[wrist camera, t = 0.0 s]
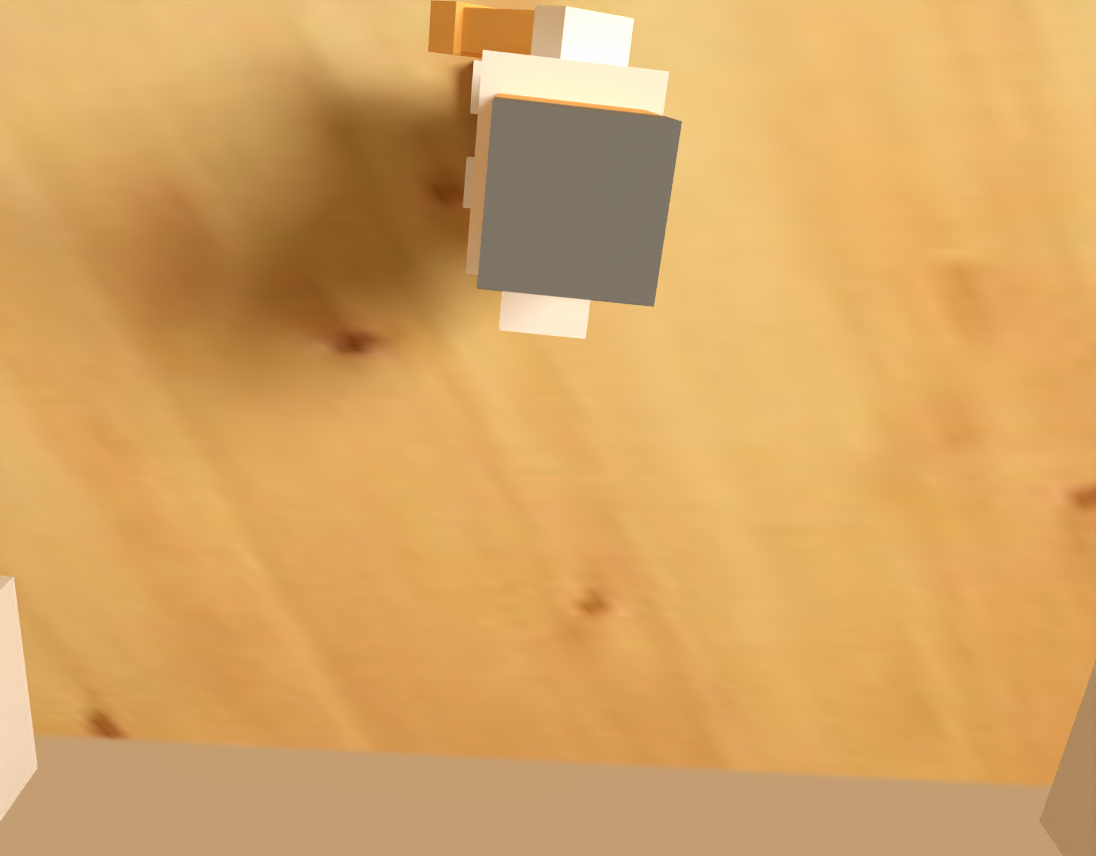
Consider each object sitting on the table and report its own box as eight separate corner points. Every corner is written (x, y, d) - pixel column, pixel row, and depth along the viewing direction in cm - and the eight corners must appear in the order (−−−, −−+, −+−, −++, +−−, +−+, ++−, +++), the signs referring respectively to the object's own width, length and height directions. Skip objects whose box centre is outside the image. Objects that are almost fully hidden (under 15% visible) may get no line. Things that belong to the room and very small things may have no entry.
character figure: (516, 295, 38) (511, 472, 21) (377, 54, 35) (243, 39, 18) (687, 200, 37) (825, 309, 20) (561, -58, 34) (602, -186, 17)
